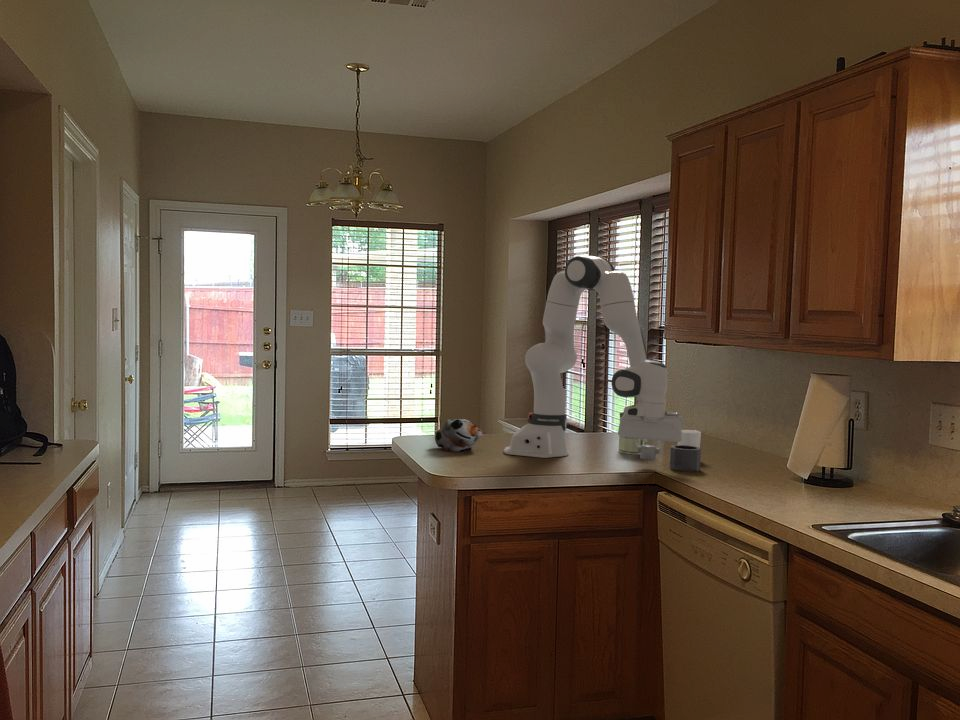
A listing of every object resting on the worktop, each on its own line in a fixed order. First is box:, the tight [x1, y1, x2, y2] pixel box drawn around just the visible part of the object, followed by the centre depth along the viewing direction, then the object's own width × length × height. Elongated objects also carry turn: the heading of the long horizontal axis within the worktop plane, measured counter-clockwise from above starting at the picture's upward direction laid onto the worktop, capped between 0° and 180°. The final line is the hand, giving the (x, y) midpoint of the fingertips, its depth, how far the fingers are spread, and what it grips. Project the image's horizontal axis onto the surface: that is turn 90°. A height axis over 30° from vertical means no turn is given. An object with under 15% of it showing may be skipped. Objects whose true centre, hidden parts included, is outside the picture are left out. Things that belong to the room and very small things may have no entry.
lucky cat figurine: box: [434, 418, 483, 453], centre depth 295 cm, size 15×12×14 cm
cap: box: [639, 444, 658, 461], centre depth 271 cm, size 5×5×4 cm
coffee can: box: [618, 411, 648, 456], centre depth 302 cm, size 10×10×14 cm
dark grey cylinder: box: [669, 444, 702, 472], centre depth 273 cm, size 9×9×7 cm
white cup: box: [677, 429, 702, 448], centre depth 290 cm, size 8×8×10 cm
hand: (648, 453), depth 271 cm, fingers closed on cap, 5 cm apart
